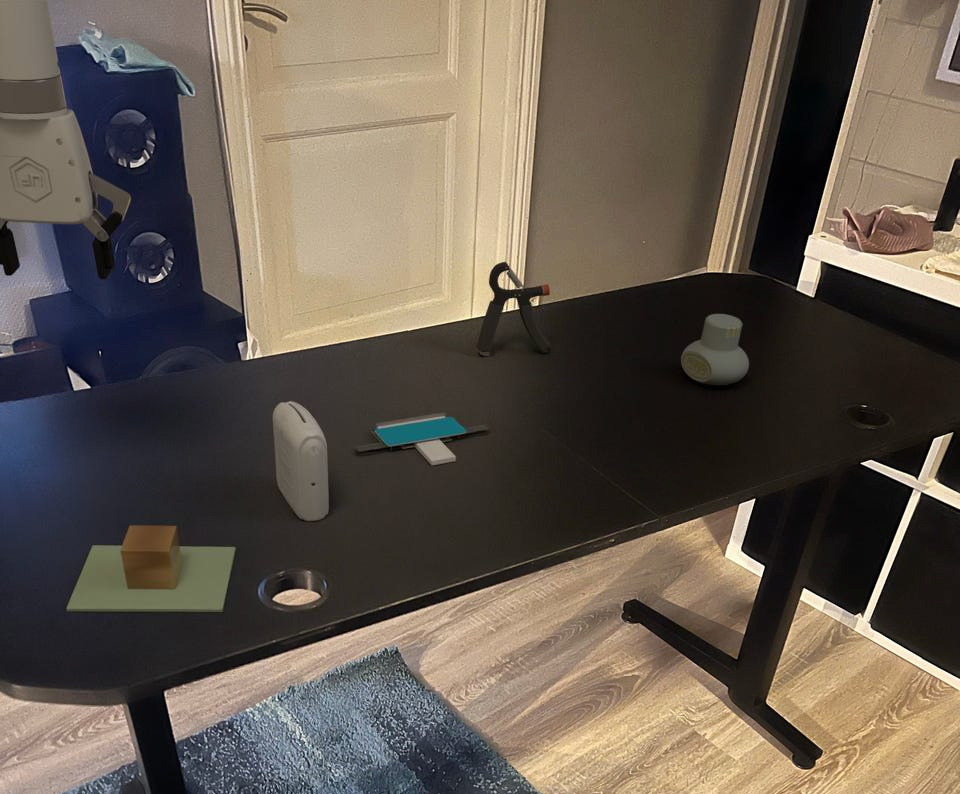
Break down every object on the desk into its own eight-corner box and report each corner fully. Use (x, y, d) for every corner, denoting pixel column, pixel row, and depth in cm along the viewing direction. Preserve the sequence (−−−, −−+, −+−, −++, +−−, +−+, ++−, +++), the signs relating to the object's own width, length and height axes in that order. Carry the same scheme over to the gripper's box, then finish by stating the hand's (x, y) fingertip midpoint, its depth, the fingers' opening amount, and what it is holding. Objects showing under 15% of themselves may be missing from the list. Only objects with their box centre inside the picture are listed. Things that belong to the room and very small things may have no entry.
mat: (66, 611, 102) (66, 608, 101) (93, 548, 111) (92, 545, 111) (222, 612, 103) (222, 609, 103) (235, 549, 113) (235, 546, 112)
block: (127, 589, 105) (120, 550, 102) (136, 563, 108) (129, 525, 105) (175, 589, 105) (168, 551, 102) (182, 563, 109) (176, 525, 106)
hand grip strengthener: (551, 355, 163) (561, 265, 154) (479, 357, 161) (485, 265, 151) (547, 350, 165) (557, 260, 156) (476, 352, 162) (482, 261, 153)
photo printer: (333, 518, 119) (331, 426, 111) (300, 525, 117) (295, 432, 110) (305, 479, 126) (300, 390, 118) (273, 485, 124) (266, 395, 117)
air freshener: (670, 371, 162) (681, 312, 155) (705, 363, 165) (718, 304, 159) (716, 397, 155) (730, 336, 148) (752, 387, 159) (767, 328, 152)
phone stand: (375, 476, 128) (375, 465, 127) (343, 436, 136) (342, 426, 135) (508, 451, 136) (509, 441, 135) (470, 415, 144) (471, 405, 143)
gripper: (-85, 97, 91) (-36, 282, 101) (106, 108, 92) (134, 288, 103) (-57, 83, 96) (-14, 259, 107) (122, 93, 98) (147, 265, 109)
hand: (59, 273), depth 105 cm, fingers open, 9 cm apart
